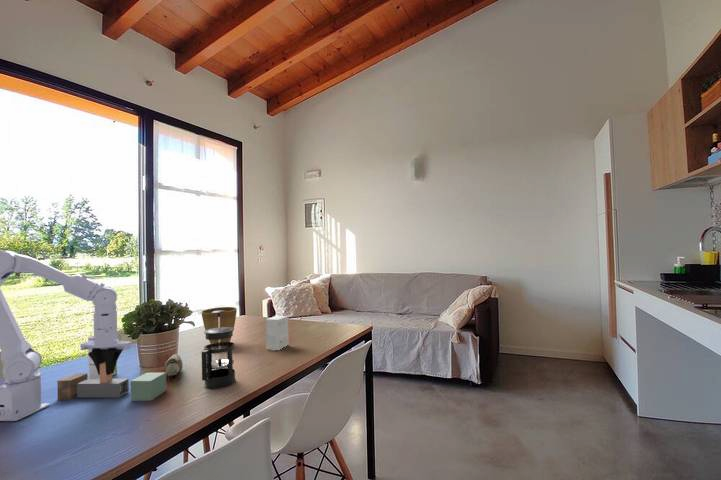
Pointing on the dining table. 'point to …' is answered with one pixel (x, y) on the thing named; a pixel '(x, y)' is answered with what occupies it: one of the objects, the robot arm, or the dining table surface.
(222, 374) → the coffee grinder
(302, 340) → the dining table surface
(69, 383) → the brown wooden block
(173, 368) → the decorative bird
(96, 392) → the stand with post
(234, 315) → the plant pot
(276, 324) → the small box
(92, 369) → the syrup box
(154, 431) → the dining table surface
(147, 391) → the socket block
